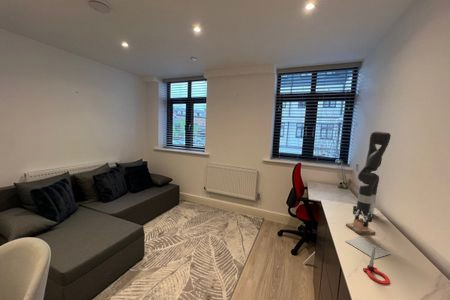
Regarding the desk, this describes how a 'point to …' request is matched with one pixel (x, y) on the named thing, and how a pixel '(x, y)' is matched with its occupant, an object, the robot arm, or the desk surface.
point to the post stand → (360, 232)
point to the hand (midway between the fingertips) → (360, 224)
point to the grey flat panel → (367, 247)
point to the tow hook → (375, 270)
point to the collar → (359, 225)
